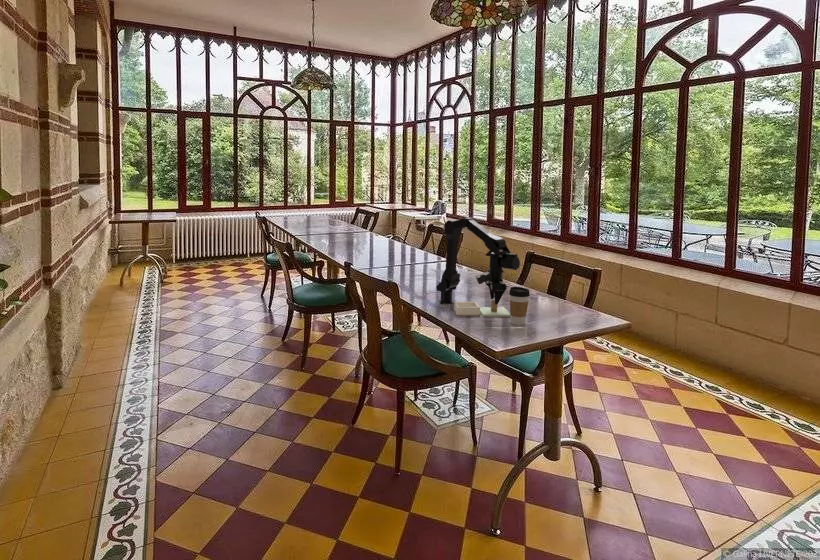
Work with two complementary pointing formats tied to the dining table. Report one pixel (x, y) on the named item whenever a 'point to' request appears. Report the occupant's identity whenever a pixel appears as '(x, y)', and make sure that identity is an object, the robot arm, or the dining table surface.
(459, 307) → the cream square tray
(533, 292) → the dining table surface
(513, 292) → the coffee cup
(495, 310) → the lid
